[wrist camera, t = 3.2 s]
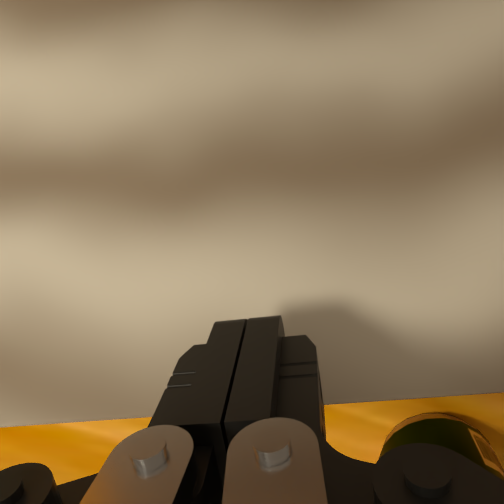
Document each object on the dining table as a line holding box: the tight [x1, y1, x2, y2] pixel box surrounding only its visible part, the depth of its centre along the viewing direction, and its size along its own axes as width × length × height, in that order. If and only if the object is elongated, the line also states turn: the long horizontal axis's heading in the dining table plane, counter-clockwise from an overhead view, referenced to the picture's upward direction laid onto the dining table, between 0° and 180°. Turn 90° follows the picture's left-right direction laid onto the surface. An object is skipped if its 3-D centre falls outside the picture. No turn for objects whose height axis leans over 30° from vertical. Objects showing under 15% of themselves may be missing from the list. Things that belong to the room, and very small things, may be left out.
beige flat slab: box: [0, 0, 504, 427], centre depth 14 cm, size 14×20×2 cm
